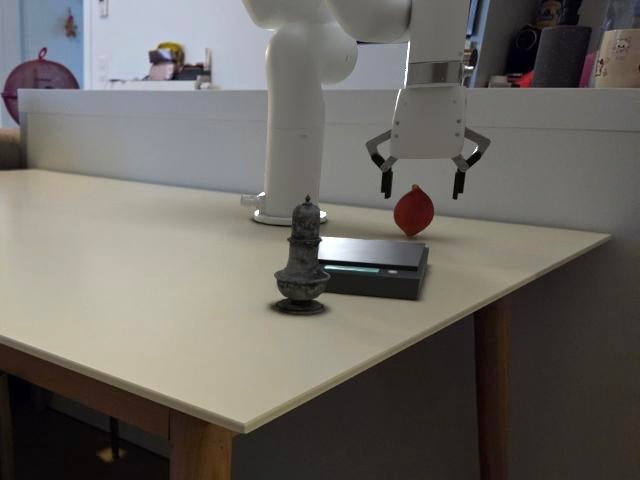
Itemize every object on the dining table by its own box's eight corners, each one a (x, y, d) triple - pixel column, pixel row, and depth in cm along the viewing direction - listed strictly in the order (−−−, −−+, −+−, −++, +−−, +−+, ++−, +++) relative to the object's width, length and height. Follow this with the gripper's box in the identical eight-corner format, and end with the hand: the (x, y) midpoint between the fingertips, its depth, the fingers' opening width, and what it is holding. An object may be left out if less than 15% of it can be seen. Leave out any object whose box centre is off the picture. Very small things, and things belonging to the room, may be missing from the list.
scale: (283, 287, 87) (284, 263, 86) (312, 256, 102) (314, 235, 101) (417, 300, 81) (420, 273, 80) (426, 265, 96) (430, 242, 95)
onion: (424, 233, 116) (431, 181, 113) (435, 240, 111) (442, 186, 108) (387, 233, 117) (393, 182, 114) (395, 240, 111) (402, 186, 108)
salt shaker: (265, 300, 81) (272, 191, 77) (317, 299, 82) (326, 189, 77) (280, 316, 76) (288, 199, 72) (335, 314, 76) (346, 197, 72)
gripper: (499, 74, 105) (483, 196, 111) (373, 80, 111) (365, 194, 118) (500, 73, 98) (483, 202, 104) (367, 79, 105) (358, 200, 111)
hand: (420, 198), depth 111 cm, fingers open, 9 cm apart
